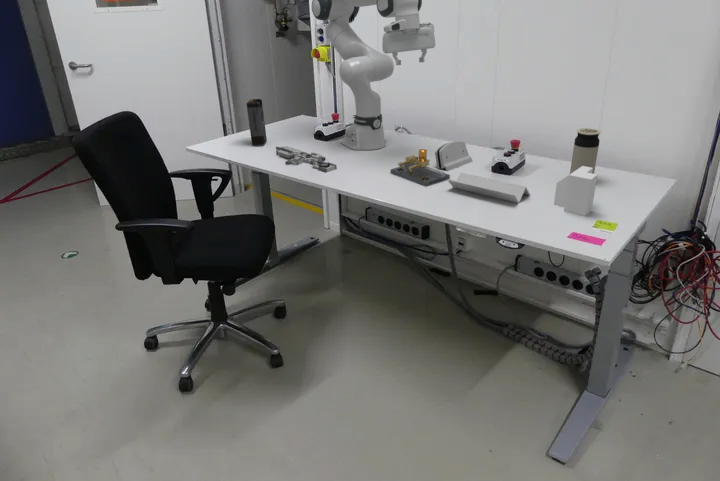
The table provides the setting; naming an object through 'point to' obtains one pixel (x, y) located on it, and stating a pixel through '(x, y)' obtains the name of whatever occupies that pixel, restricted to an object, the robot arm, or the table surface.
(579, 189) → the corner bracket
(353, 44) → the robot arm
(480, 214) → the table surface
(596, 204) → the table surface
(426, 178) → the bolt plate
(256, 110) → the electronic device
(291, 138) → the table surface
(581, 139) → the travel mug
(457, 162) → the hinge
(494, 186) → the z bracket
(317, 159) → the gun
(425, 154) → the sliding leg
